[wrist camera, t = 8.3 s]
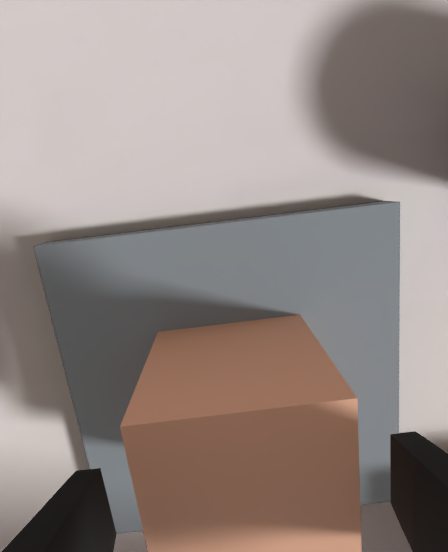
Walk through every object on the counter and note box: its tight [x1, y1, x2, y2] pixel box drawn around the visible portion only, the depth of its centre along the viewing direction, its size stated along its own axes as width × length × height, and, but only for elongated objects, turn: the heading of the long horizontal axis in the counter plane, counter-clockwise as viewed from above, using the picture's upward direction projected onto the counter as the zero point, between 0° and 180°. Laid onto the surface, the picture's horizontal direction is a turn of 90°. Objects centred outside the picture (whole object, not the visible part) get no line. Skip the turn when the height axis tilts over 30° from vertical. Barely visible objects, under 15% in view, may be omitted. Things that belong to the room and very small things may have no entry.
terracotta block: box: [120, 315, 362, 552], centre depth 10 cm, size 5×5×5 cm
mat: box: [33, 201, 400, 534], centre depth 13 cm, size 12×12×1 cm
